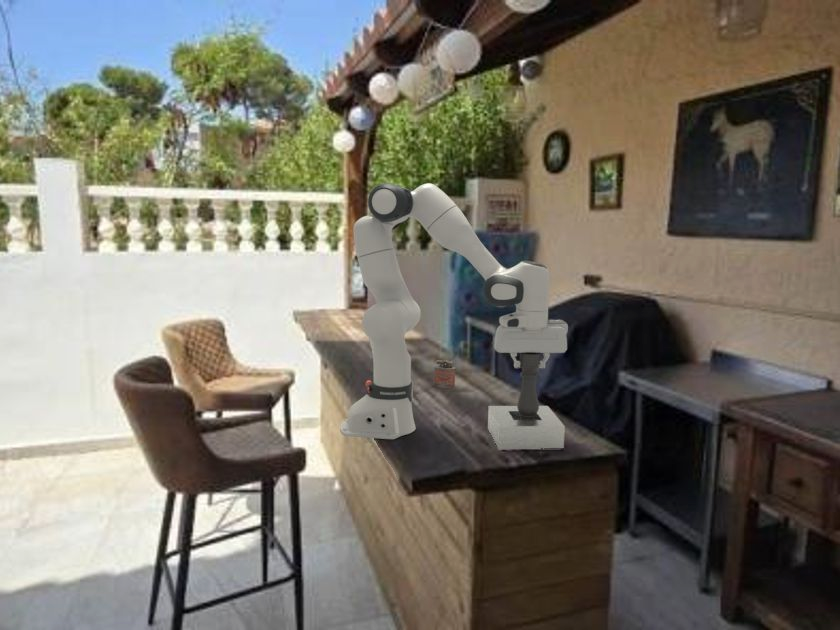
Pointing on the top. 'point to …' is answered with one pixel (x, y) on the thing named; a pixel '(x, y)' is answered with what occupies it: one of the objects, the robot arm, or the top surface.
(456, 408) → the top surface
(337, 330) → the top surface
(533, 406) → the candle holder
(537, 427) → the sleeve block
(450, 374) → the lighter
